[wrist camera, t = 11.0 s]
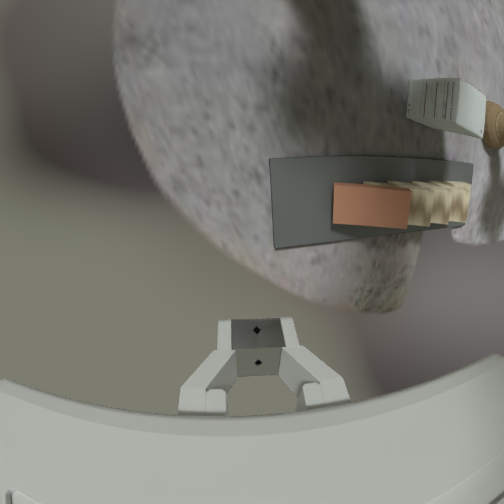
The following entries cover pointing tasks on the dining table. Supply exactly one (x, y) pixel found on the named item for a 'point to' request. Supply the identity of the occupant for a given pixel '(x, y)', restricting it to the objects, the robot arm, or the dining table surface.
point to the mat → (322, 193)
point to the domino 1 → (371, 205)
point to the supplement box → (447, 105)
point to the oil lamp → (494, 126)
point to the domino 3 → (436, 202)
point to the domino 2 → (416, 203)
